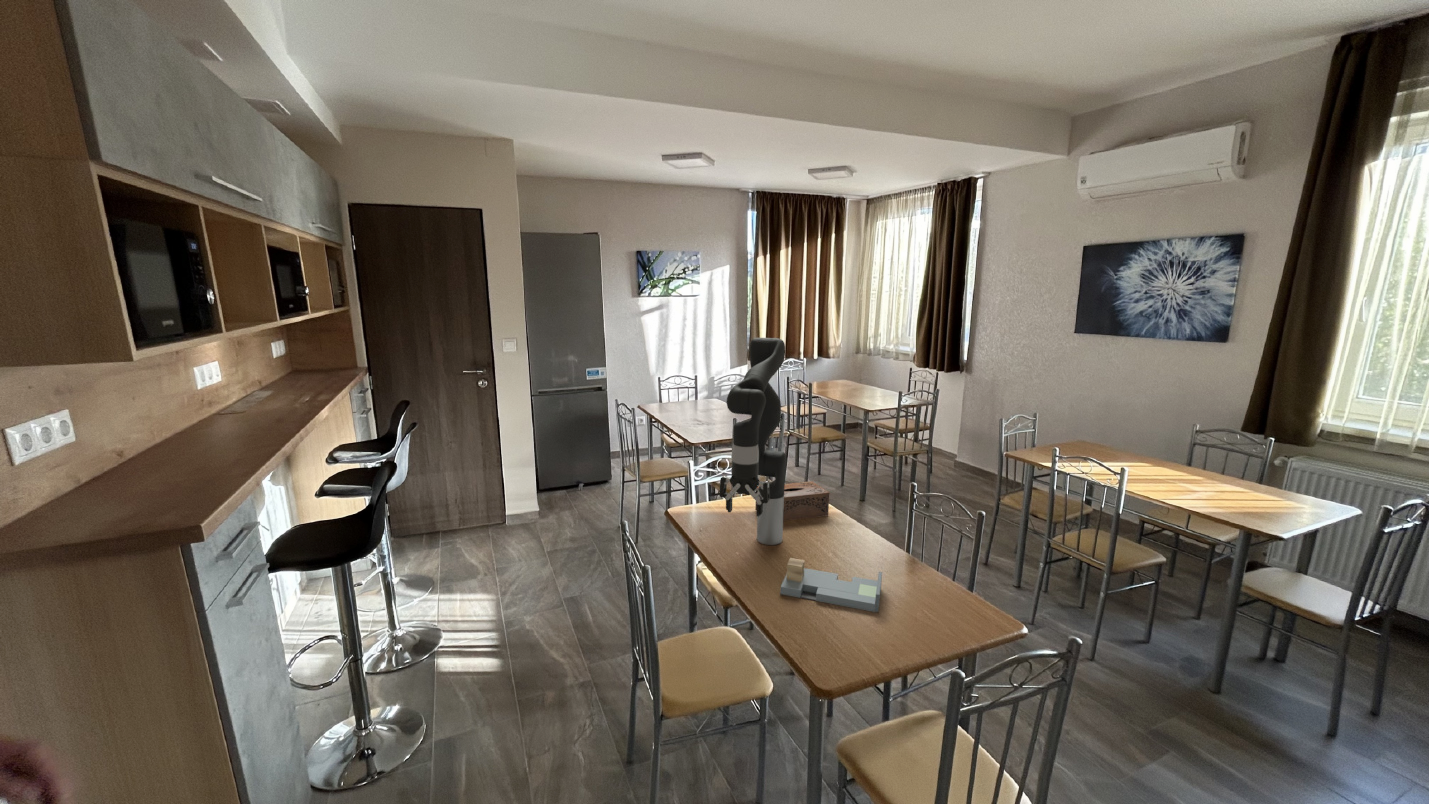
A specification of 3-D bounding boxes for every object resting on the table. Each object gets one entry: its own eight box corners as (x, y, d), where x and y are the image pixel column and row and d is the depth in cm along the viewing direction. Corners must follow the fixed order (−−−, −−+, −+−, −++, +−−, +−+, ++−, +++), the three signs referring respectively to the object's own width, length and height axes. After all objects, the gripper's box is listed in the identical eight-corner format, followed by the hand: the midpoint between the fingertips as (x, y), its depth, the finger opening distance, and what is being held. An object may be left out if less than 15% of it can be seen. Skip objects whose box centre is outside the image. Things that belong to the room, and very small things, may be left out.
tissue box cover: (769, 523, 220) (770, 498, 218) (755, 510, 233) (756, 486, 231) (828, 516, 228) (829, 492, 226) (811, 503, 241) (812, 481, 239)
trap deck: (790, 572, 180) (790, 556, 179) (880, 588, 171) (882, 572, 170) (780, 594, 167) (780, 577, 166) (878, 612, 158) (879, 594, 157)
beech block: (789, 572, 175) (790, 557, 174) (803, 575, 174) (804, 560, 173) (786, 579, 171) (787, 564, 170) (801, 582, 169) (801, 566, 169)
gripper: (773, 458, 159) (771, 512, 162) (725, 452, 163) (724, 505, 167) (766, 466, 152) (764, 522, 155) (716, 460, 157) (716, 514, 160)
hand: (744, 513), depth 161 cm, fingers open, 8 cm apart
